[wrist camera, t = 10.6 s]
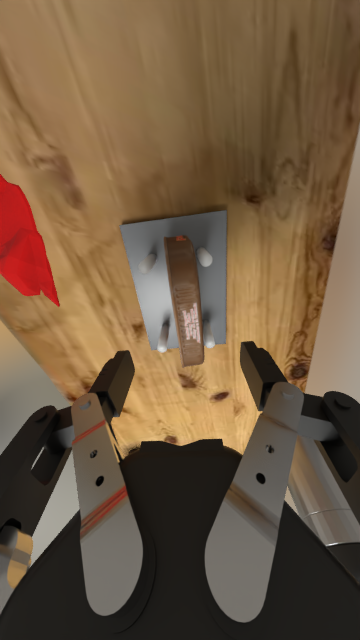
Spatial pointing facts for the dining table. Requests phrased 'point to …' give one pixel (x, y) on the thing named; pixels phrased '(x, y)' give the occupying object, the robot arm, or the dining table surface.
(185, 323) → the tin
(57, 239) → the dining table surface
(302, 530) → the robot arm
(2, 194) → the cloth
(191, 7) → the dining table surface
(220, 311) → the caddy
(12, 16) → the dining table surface
